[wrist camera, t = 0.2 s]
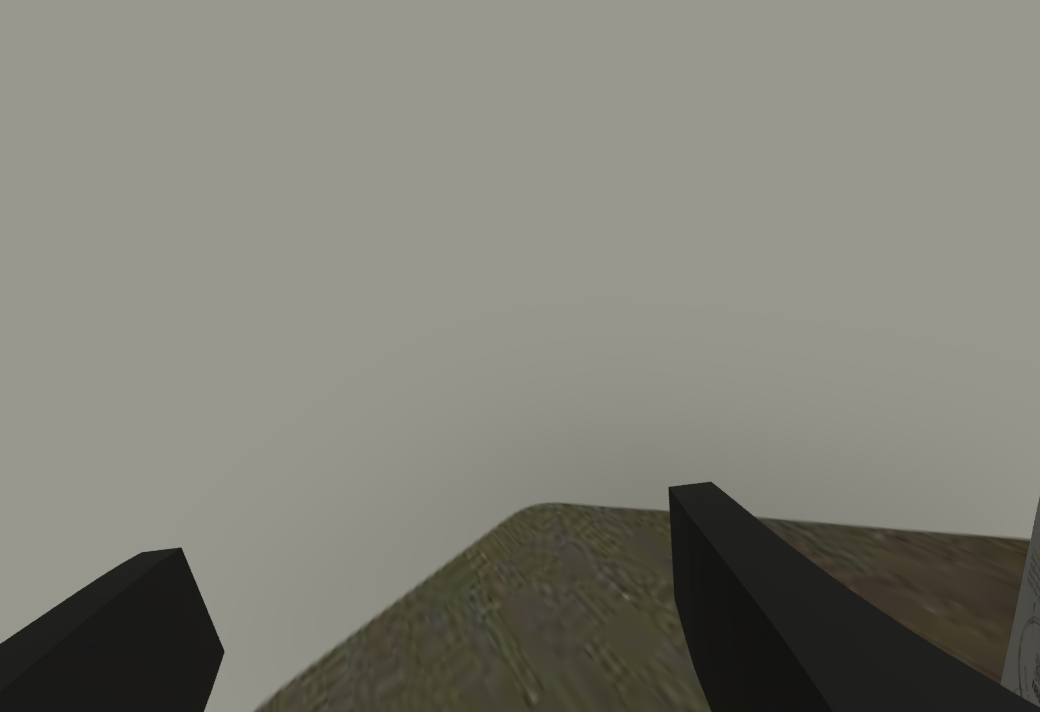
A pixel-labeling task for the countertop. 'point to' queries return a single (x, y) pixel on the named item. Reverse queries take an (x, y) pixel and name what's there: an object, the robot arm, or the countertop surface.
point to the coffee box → (1026, 629)
